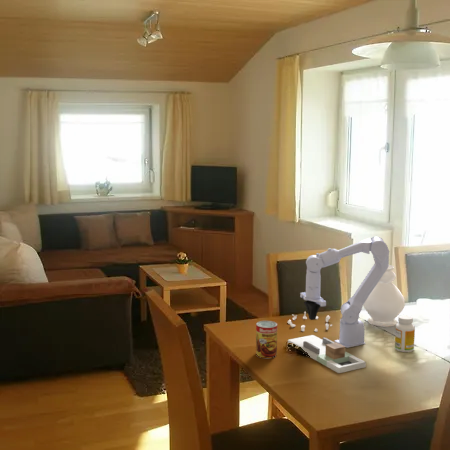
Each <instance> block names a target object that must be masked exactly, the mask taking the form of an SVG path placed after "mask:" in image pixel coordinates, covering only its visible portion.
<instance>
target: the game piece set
mask: <svg viewBox="0 0 450 450" xmlns="http://www.w3.org/2000/svg"><path fill="white" fill-rule="evenodd" d="M303 313H304V315H303V316H302V319H303V320H307V319H308V317H307V316H306V314H307V312H306V311H304V312H303ZM291 315H292V316H293V317H292V320H293V321H296V319H297V316H298V315H297V314H291ZM318 319H319V316H318V315H316V319H315V320H318ZM330 319H331V316H330V315H329V314H328V315H326V317H325V322H326V323H325V325H324V326H325V329H326V330H329V327H333V324H332V323H331V324H330V325H329V320H330ZM292 320H291V319H290V318H289V320H287V323H288V324H287V325H290V327H291V328H295V327H296V324H294V323H293V322H292ZM300 328H301V329H300V331H301V332H305V331H306V330H305V328H306V325H305V324H302V325H301V326H300ZM314 332H316V333H317V332H318V328H315V329H314Z"/></svg>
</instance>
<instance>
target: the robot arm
mask: <svg viewBox="0 0 450 450" xmlns="http://www.w3.org/2000/svg"><path fill="white" fill-rule="evenodd" d="M388 247H389V246H388V245H387V243H386V242H385V241H384V239H383V238H382V237H380V236H377V235H376V236H372V237H368V238H365V239H362V240H360V241H358V242H357V241H356V242H355V243H352V244H350V245H348V246H346V247H343V248H340V249H337V248H331V247H329V248H327V250H325V251H323V252H320V253H319V252H317V253H315V254H311V255H309V256H308V257H306V260H305V265H306V274H305V291H304V292H303V291H302V292H300V293H299V294H300V296H299V297H300V298H302V299H303V300H304V302H303V304H304V306H305V308H306V311H307V315H308V320H310V321H314V320H317V319H316V316H318V312H319V309H320V308H321V307H326V306H327V301H326V300H324V298H323V297H321V288H322V287H321V286H322V285H321V283H322V281H321V280H322V277H321V276H322V275H321V270H322V268H326V267H327V268H328V267H329V266H333V265H335V264H337V263H340V261H341V259H342V258H346V257H348V256H352V255H356V254H359V253H364V254H367V255H370V253H371V254H372V257H373V260H374V263H373V264H372V267H371V268H370V270H369V271H368V272H367V274H366V276H365V278H364V279H363V280H362V282H361V283H360V285H359V286H358V287H357V289H356V291H355V292H354V294H353V295H352V296H351V297H349V299H348V300H347V301H345V302H344V303H343V304H341V306H340V313H341V318H340V319H339V337H338V338H339V339H335V340H334V342H335V343H336V342H337V343H339V344H341V345H343V346H345V348H352V347H357V346H362V345H366V342H365V336H366V334H365V333H366V330H365V328H366V327H365V324H364V322H363V321H362V320H360V319H359V318H360V314H361V312H362V310H363V308H364V306H363V304H364V302H365V301H366V299H367V298H368V296H369V295H370V294H371V292H372V291H373V289H374V288H375V286H376V285H377V283H378V282H379V280H380V279H381V277H382V276H383V274H384V273H385V271H386V270H387V268H388V266H389V265H390V262H389V261H390V258H389V257H390V250H389V248H388Z"/></svg>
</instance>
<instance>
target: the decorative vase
mask: <svg viewBox="0 0 450 450" xmlns="http://www.w3.org/2000/svg"><path fill="white" fill-rule="evenodd" d="M393 270H395V266H394V265H392V264H389V266H388V268H387V270H386V271H385V273H384V274H383V276H382V277H381V279H380V280H379V282H378V283H377V285H376V286H375V288H374V289H373V291H372V292H371V294H370V295H369V296H368V298H367V299H366V301H365V302H364V304H363V308H364V310H365V311H366V312H367V314H368V315H369V316H370V317H369V318H368V319H367V323H369V324H371V325H372V326H376V327H381V328H382V327H383V328H384V327H385V328H387V327H390V328H391V327H396V324H397V323H398V320H397V319H396V318H398V317H399V316H400V314H401V313H402V312H403V310H404V308H405V305H406V303H405V302H406V300H405V297H404V295H403V294H402V292H401V291H400V289H399V288H398V287H397V285H396V284H394V282H393V281H394V280H395V279H397V278H396V277H397V275H396V273H395V272H394V271H393Z"/></svg>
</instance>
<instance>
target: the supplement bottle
mask: <svg viewBox="0 0 450 450" xmlns="http://www.w3.org/2000/svg"><path fill="white" fill-rule="evenodd" d="M413 321H414V317H413V316H412V315H404V314H403V315H398V320H397V324H396V325H395V330H394V331H395V332H394V334H395V335H394V349H395V350H396V351H398V352H403V353H410V352H413V351H414V349H415V330H416V328H415V325H414V324H413V323H414V322H413Z"/></svg>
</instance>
